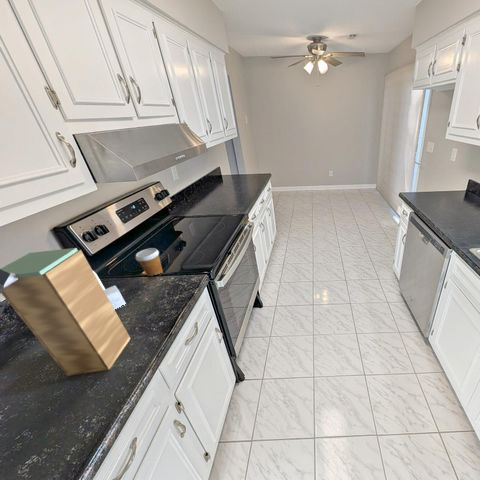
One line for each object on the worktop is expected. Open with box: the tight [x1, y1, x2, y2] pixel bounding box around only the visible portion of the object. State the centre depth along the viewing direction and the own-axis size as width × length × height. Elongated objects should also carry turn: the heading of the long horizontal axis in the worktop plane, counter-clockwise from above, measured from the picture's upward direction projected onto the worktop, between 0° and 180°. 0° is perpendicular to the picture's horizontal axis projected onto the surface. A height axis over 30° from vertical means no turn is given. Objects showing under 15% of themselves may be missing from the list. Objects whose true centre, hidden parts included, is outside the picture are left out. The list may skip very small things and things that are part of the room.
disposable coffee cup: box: [135, 247, 163, 277], centre depth 121 cm, size 10×10×12 cm
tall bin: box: [1, 249, 131, 377], centre depth 73 cm, size 12×12×35 cm
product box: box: [104, 285, 127, 311], centre depth 102 cm, size 6×6×7 cm
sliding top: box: [0, 247, 78, 288], centre depth 60 cm, size 12×22×2 cm, turn 7°
